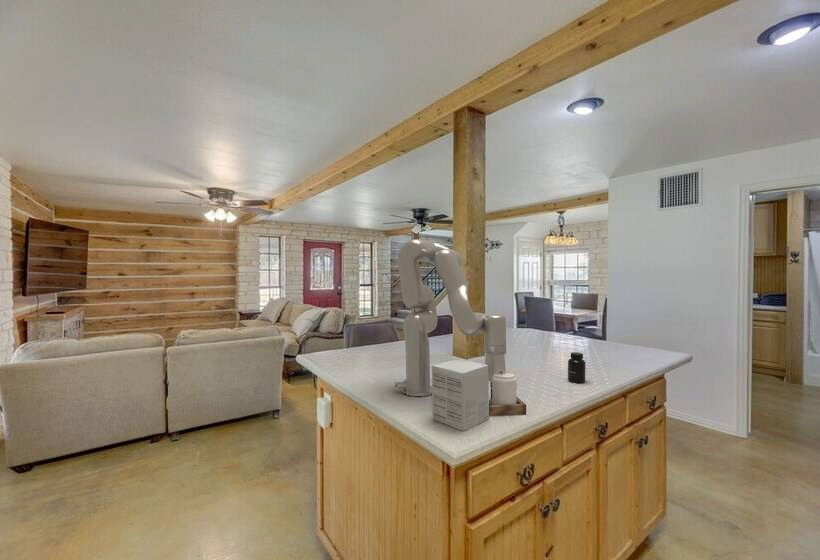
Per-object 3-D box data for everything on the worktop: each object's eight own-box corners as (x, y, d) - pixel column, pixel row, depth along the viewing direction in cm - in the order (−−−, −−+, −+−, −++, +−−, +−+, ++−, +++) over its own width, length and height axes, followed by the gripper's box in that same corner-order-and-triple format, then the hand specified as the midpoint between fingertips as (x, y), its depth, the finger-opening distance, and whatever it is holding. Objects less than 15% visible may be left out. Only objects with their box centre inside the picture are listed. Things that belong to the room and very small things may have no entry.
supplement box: (457, 408, 126) (457, 358, 125) (489, 419, 116) (489, 364, 116) (431, 419, 117) (430, 365, 116) (463, 432, 107) (463, 373, 107)
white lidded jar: (521, 411, 122) (521, 376, 121) (500, 415, 119) (500, 378, 119) (508, 403, 129) (507, 370, 129) (487, 406, 127) (487, 372, 127)
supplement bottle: (568, 382, 152) (567, 354, 152) (567, 378, 158) (567, 351, 158) (586, 384, 149) (586, 355, 149) (585, 379, 156) (584, 352, 156)
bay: (486, 416, 118) (486, 407, 118) (476, 402, 130) (476, 394, 130) (526, 414, 120) (526, 405, 120) (512, 401, 132) (512, 392, 132)
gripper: (479, 345, 137) (479, 393, 137) (491, 354, 122) (492, 408, 122) (498, 344, 137) (498, 392, 138) (513, 353, 122) (513, 407, 123)
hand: (495, 399), depth 130 cm, fingers closed
